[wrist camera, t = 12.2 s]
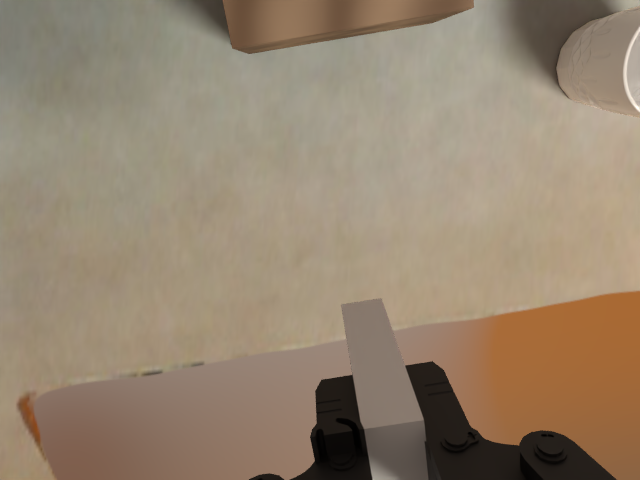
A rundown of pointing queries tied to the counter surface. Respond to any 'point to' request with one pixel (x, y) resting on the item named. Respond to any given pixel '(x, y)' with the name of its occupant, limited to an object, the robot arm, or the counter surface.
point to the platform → (325, 19)
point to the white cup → (604, 63)
